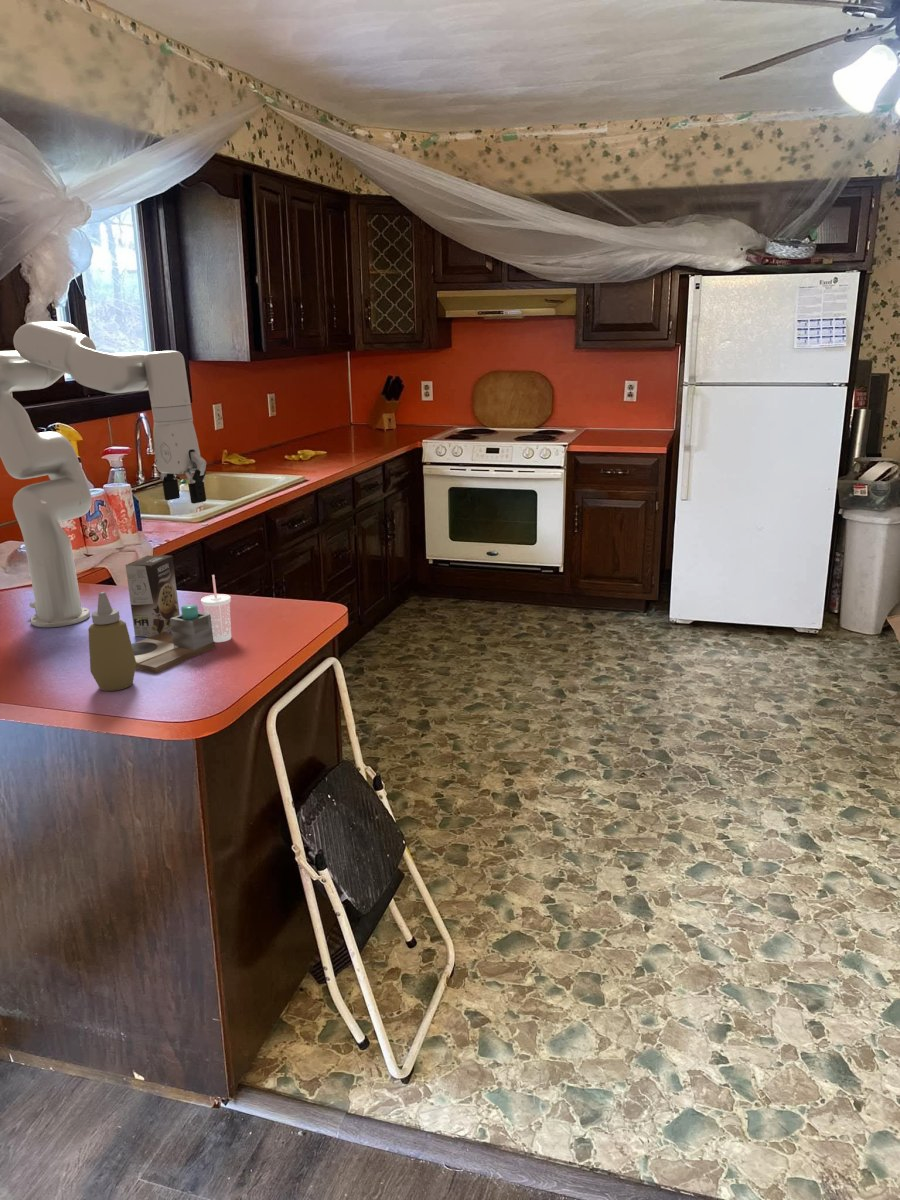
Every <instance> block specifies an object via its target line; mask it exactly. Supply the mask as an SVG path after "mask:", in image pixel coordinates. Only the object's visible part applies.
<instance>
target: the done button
mask: <svg viewBox="0 0 900 1200" xmlns="http://www.w3.org/2000/svg"><path fill="white" fill-rule="evenodd" d="M180 609H181V610H180V611H181V614H182V619H184V620H193V619H196V618H198V617H199V615H198V612H199V608H198V605H197V604H186V605H183V606H181V607H180Z"/></svg>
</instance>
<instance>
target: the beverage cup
mask: <svg viewBox="0 0 900 1200" xmlns="http://www.w3.org/2000/svg"><path fill="white" fill-rule="evenodd" d="M211 577H212V586H213V587H212V588H213V594H211V595H206V596H203V597H201V599H200V602H201V605H202V607H203V613H206V614H210V615H211V623H212V632H213V640H214V642H215V643H223V642H228V641H230V640H231V639H232V627H231V626H232V624H231V623H232V622H231V621H232V620H231V605H230V604H231V602H232V601H231V600H232V599H231V598H232V597H231V595H229V594H224V593H221V594H219V593H217V587H216V586H217V585H216V579H215V577H216V576H215V574H211Z"/></svg>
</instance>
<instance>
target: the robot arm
mask: <svg viewBox="0 0 900 1200" xmlns="http://www.w3.org/2000/svg"><path fill="white" fill-rule="evenodd" d="M12 340H13V341H12V343H13V346H14V349H15V350H0V459H1V462H2V465H3V467H4V468H5V471H6V472H7V474H8V475H9V476H11V478H14V479H17V480H28V479H33V478H39V477H40V478H41V477H43V476H44V477H45V476H48V478H49V480H45V481H41V482H36V483H32V484H27V485H25V486H24V487H22V488H20V489H19V490H18V491H17V492H16V494H15V495H14V496H13V499H12V509H13V513H14V515H15V519H16V521H17V523H18V525H19V528H20V531H21V535H22V538H23V542H24V547H25V553H26V558H27V563H28V570H29V575H30V581H31V585H32V586H31V587H32V592H33V593H32V594H33V597H34V598H33V599H34V600H33V601H31V602H30V603H29V608H32V609H34V612H35V614H33V615H32V616H31V617H30V623H31V625H32V626H34V627H38V628H58V627H60V628H61V627H65V626H66V627H67V626H69V625H70V626H71V625H74V624H78V623H80V622H83V621H85V620H87V619H88V618H89V617H90V616H91V614H90V613H91V612H90V610H89V608H87V607H84V606H83V607H82V601H81V595H80V589H79V584H78V583H79V581H78V575H77V571H76V565H75V558H74V552H73V546H72V542H71V538H70V537H69V535H68V534H67V533H66V532H65V530H64V529H63V528H62V526H61V524H60V523H64V522H66V521H69V520H70V521H71V520H75V519H78V518H81V517H83V516H85V515H86V514H87V513H89V511H90V509H91V507H92V501H93V500H92V499H93V498H92V494H91V493H92V492H91V489H90V487H89V484H88V482H87V479H86V476H85V473H84V471H83V468H82V466H81V463H80V460H79V459H78V455H77V453H76V450H75V448H74V447H73V445H72V443H71V442H70V441H69V440H68V438H67V437H66V436H65V435H63V434H61V433H59V432H57V431H42V432H37V431H36V430H35V428H34V426H33V424H32V422H31V418H30V416H29V414H28V412H27V411H26V409H25V408H24V406H23V405H22V404H21V403H20V402H19V401H18V400H17V399H15V398H14V397H13V396H12V395H11V392H23V391H31V390H32V391H33V390H41V389H42V390H43V389H46V388H48V387H50V386H52V385H53V384H54V383H56V382H57V381H59V379H60V378H61V377H63V376H64V375H65V374H68V375H70V376H71V377H72V379H73V380H74V381H76V383H78V384H80V385H81V386H84V387H87V388H90V389H93V390H95V391H96V390H97V391H99V392H105V393H108V394H123V393H131V392H143V391H148V394H149V400H150V406H151V411H152V418H153V428H152V429H153V432H152V434H153V448H154V463H155V465H156V469H157V472H158V474H159V475H160V476H159V477H160V478H159V479H160V481H161V483H162V484H161V485H162V490H163V496H164V500H165V501H172V500H177V499H180V495H181V494H180V489H179V488H180V487H179V482H178V478H176V476H177V475H182V474H185V476H186V477H187V480H188V481H189V483H188V490H189V497H190V503H191V504H193V505H195V504H199V503H204V502H207V494H206V489H205V483H204V482H205V481H206V478H205V477H206V473H207V471H206V468H207V461H206V460H205V459H204V458H203V457H202V456H201V451H200V447H199V440H198V437H197V434H196V429H195V426H194V419H193V410H192V405H191V404H192V403H191V397H190V391H189V390H190V389H189V384H188V377H187V369H186V361H185V358H184V355H183V353H181V351H178V350H162V351H161V350H160V351H159V350H158V351H151V352H149V351H136V352H135V351H134V352H132V351H131V352H127V351H125V352H115V353H109V352H102V351H99V350H97V348H96V345H95V343H94V341H93V340H92V339H91V338H90V337H89V336H87V335H86V334H83V333H82V331H81V330H79V329H78V327H77V326H75V325H74V324H72V323H69V322H66V321H32V322H31V321H30V322H28V323H25V324H23V325H20V327H18V329H17V330H16V331H15V333H14V335H13V339H12Z"/></svg>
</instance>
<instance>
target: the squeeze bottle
mask: <svg viewBox="0 0 900 1200" xmlns="http://www.w3.org/2000/svg"><path fill="white" fill-rule="evenodd" d="M97 600H98V601H97V610H96V611H94V612H92V613H91V620H92V624H91V625H90V626H89V627H88V631H87V632H88V648H89V649H88V650H89V667H90V668H89V669H90V673H91V675H92V677H93V678H94V680H95V682H96V684H97V686H98V687H99V689H100V690H102V691H106V692H108V691H109V692H111V691H112V692H113V691H119V690H123V689H126V688H129V687H131V686H132V685H133V683H134V677H135V674H136V673H135V672H136V670H137V669H136V660H135V656H134V652H133V648H132V645H131V644H132V642H131V636H130V633H129V630H128V626H127V623H126V622H125V621H124V620H121V619H120V611H119V609H116V608H112V606H111V605H112V604H111V602H110V600H109V598H108V596H107V593H106V592H105V591H102V592H99V593H98V599H97Z"/></svg>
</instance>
